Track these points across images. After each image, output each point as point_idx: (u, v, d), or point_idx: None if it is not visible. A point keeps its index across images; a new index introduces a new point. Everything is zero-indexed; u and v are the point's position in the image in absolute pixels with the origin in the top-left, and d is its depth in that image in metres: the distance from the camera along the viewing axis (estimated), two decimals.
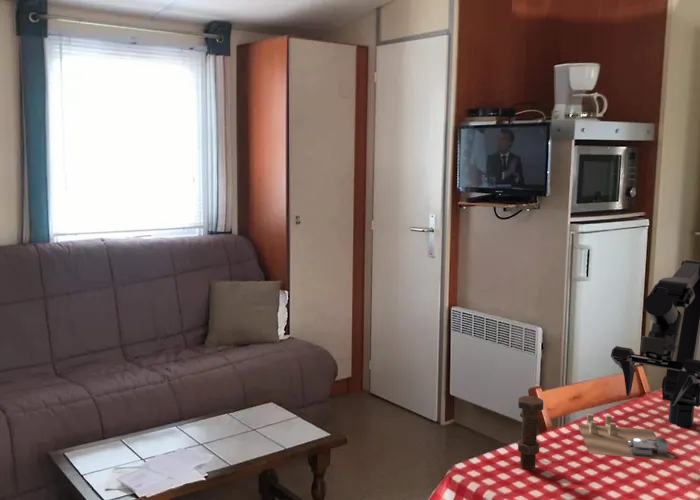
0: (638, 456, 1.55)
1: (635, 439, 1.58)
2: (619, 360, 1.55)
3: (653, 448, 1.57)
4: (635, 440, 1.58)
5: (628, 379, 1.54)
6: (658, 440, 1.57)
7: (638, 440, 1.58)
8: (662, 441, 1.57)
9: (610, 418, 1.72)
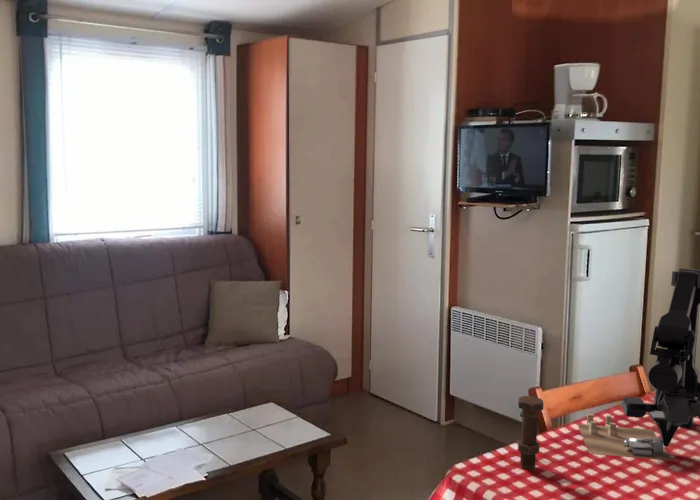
0: (638, 456, 1.55)
1: (631, 439, 1.58)
2: (658, 421, 1.54)
3: (649, 448, 1.57)
4: (631, 440, 1.58)
5: (665, 433, 1.56)
6: (654, 440, 1.58)
7: (634, 440, 1.58)
8: (658, 441, 1.57)
9: (610, 418, 1.72)
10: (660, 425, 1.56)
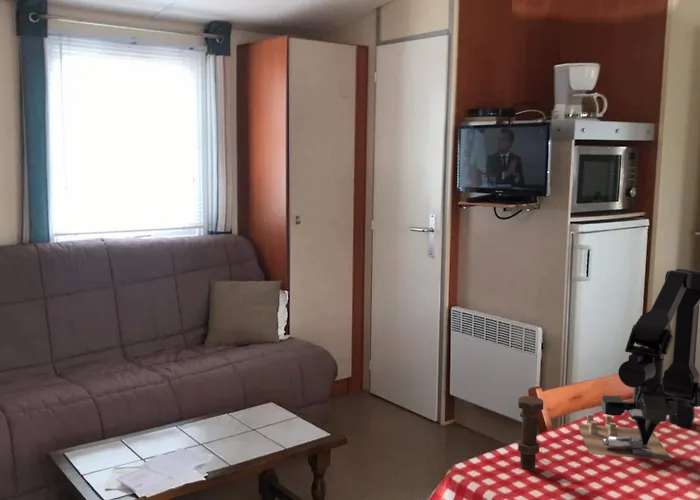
0: (638, 456, 1.55)
1: (610, 437, 1.59)
2: (636, 419, 1.55)
3: (628, 446, 1.57)
4: (610, 438, 1.59)
5: (644, 431, 1.57)
6: (633, 438, 1.58)
7: (613, 438, 1.59)
8: (637, 439, 1.58)
9: (610, 418, 1.72)
10: (639, 423, 1.56)
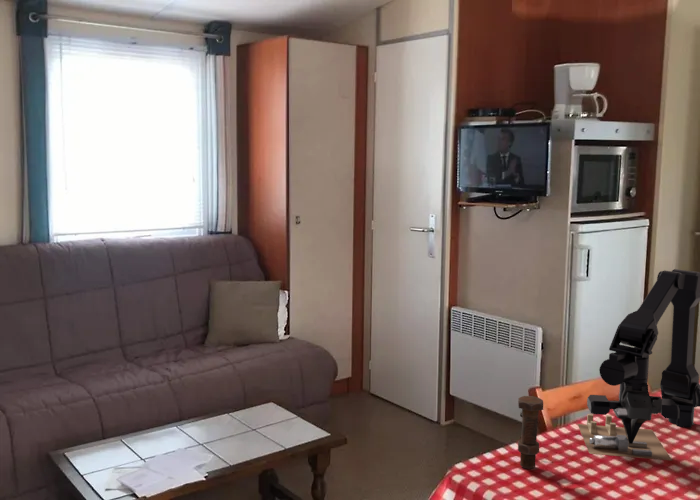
0: (638, 456, 1.55)
1: (596, 436, 1.59)
2: (622, 418, 1.55)
3: (614, 445, 1.58)
4: (596, 437, 1.59)
5: (630, 430, 1.57)
6: (619, 437, 1.59)
7: (599, 437, 1.59)
8: (623, 438, 1.58)
9: (610, 418, 1.72)
10: (624, 422, 1.57)
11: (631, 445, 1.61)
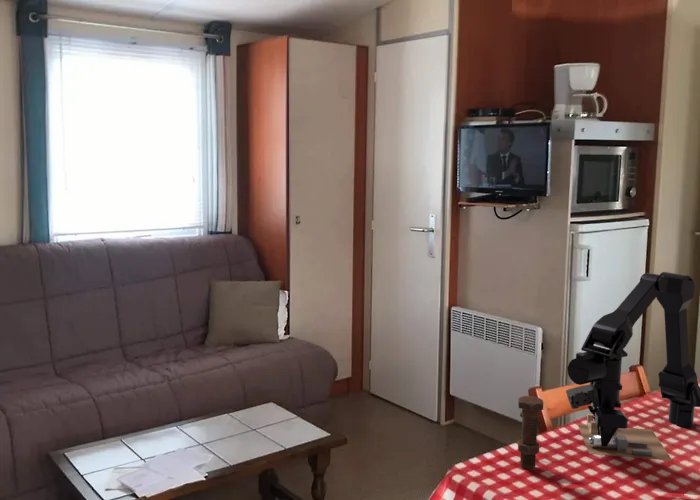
0: (638, 456, 1.55)
1: (595, 436, 1.60)
2: (588, 407, 1.64)
3: (613, 445, 1.58)
4: (595, 437, 1.59)
5: None
6: (618, 437, 1.59)
7: (598, 437, 1.59)
8: (622, 438, 1.58)
9: None
10: None
11: (631, 445, 1.61)
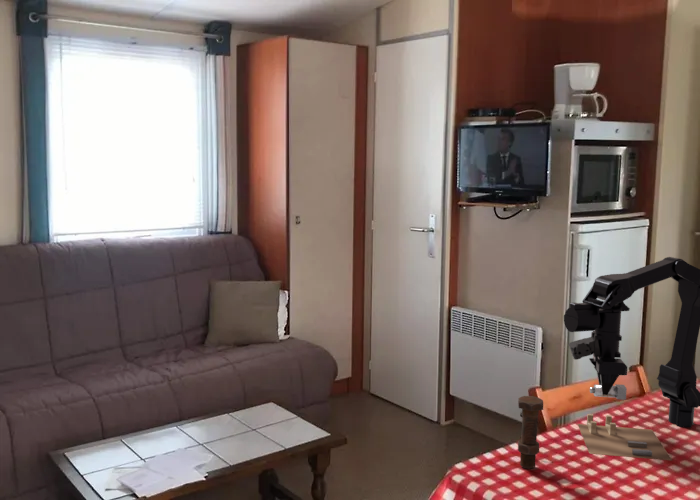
0: (638, 456, 1.55)
1: (596, 385, 1.69)
2: None
3: (613, 393, 1.67)
4: (596, 386, 1.68)
5: (598, 376, 1.71)
6: (618, 386, 1.68)
7: (599, 386, 1.68)
8: (621, 387, 1.68)
9: (610, 418, 1.72)
10: None
11: (631, 445, 1.61)
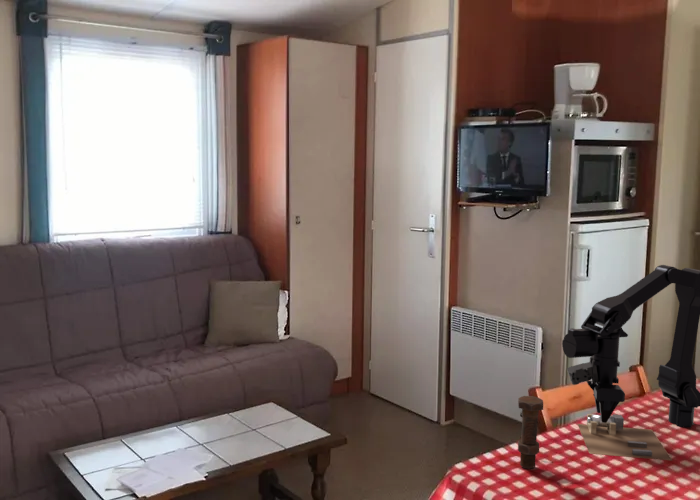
0: (638, 456, 1.55)
1: (594, 415, 1.70)
2: (587, 382, 1.75)
3: None
4: (594, 416, 1.70)
5: (595, 399, 1.73)
6: (615, 416, 1.69)
7: (597, 416, 1.70)
8: (619, 417, 1.69)
9: None
10: None
11: (631, 445, 1.61)
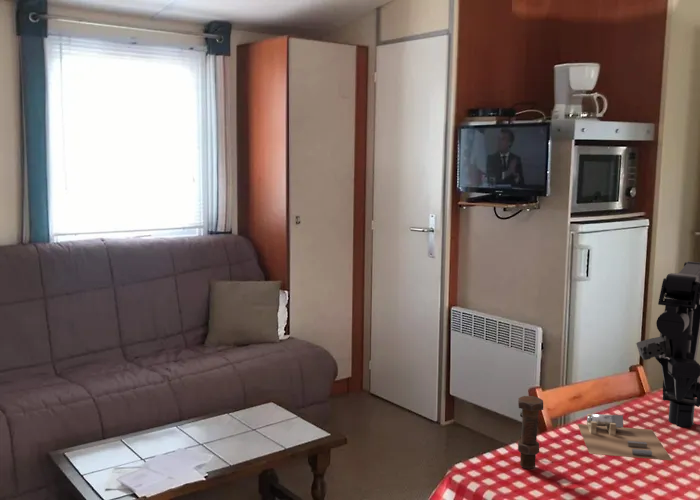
0: (638, 456, 1.55)
1: (593, 414, 1.71)
2: None
3: (610, 420, 1.69)
4: (593, 414, 1.71)
5: (663, 373, 1.68)
6: (614, 415, 1.70)
7: (596, 414, 1.71)
8: (618, 415, 1.70)
9: None
10: None
11: (631, 445, 1.61)
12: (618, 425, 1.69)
